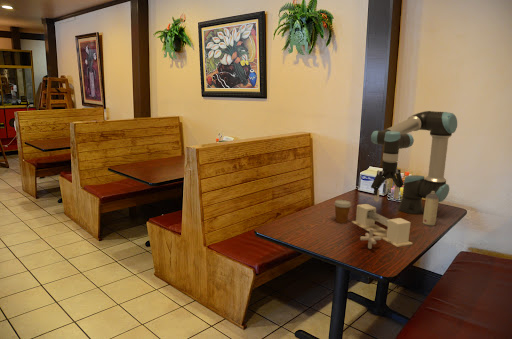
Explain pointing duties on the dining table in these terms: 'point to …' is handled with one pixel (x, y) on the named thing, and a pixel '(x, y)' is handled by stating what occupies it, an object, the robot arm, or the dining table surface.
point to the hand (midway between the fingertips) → (386, 199)
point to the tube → (378, 218)
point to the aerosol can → (430, 209)
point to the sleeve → (364, 215)
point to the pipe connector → (370, 238)
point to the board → (381, 233)
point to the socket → (398, 230)
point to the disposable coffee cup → (342, 210)
